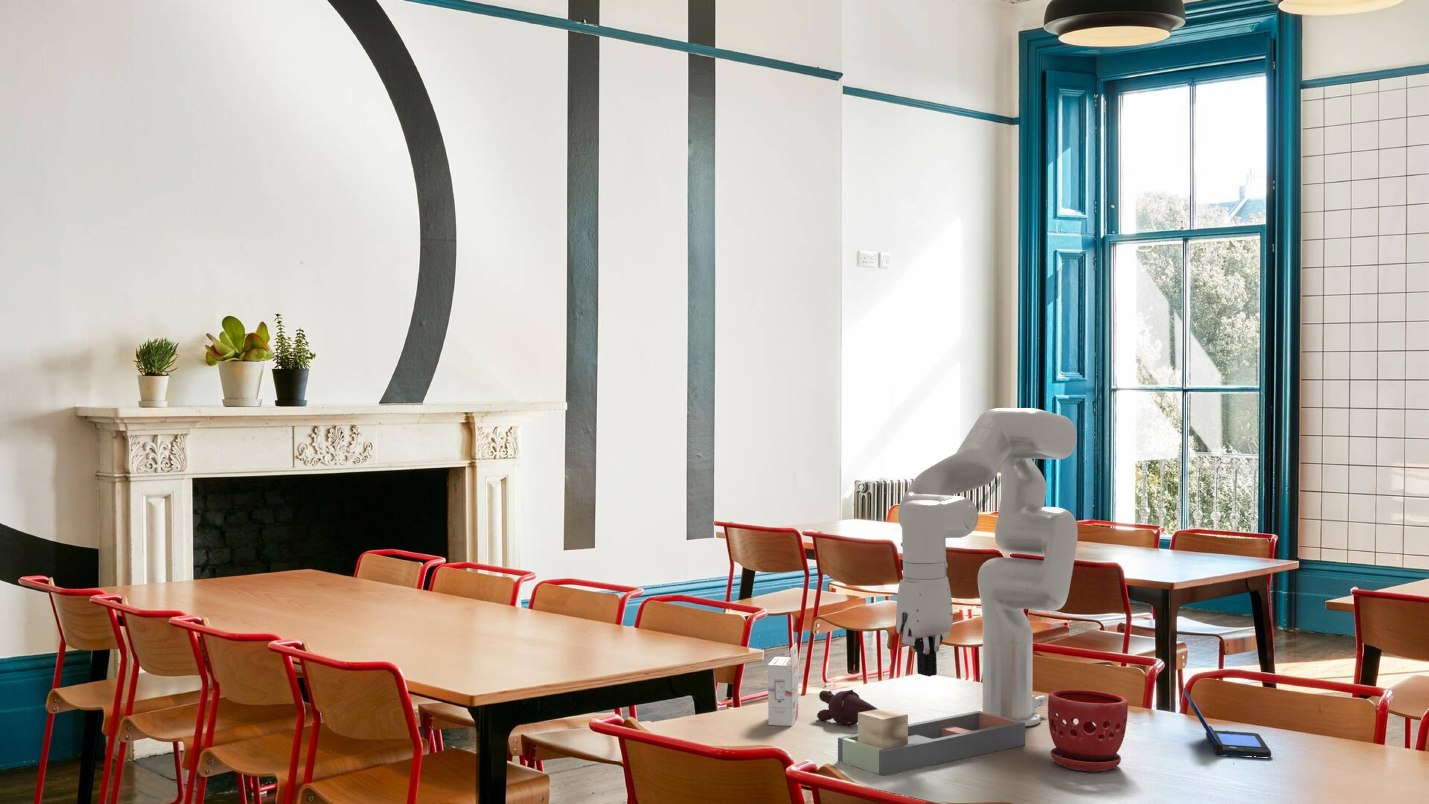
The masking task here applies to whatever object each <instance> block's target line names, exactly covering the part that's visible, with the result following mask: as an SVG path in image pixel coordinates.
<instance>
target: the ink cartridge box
mask: <svg viewBox="0 0 1429 804" xmlns="http://www.w3.org/2000/svg"><path fill="white" fill-rule="evenodd" d="M789 655H790V657H789V656H786V657H785V656H774V657H773V658H772V660H771V661H769V663H767V694H768V695H767V698H768V699H767V705H768V706H767V708H768V710H767V712H768V721H767V722H768V726H780V727H781V726H782V727H783V726H784V727H792V726H793V725H794V724H795V722H796V720H797V719H798V717H799V651H798V643H797V642H794V644H793V645H792V646H791V648H790V650H789Z"/></svg>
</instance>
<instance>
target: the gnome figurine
mask: <svg viewBox="0 0 1429 804" xmlns="http://www.w3.org/2000/svg"><path fill="white" fill-rule="evenodd" d="M818 697H819V700H820V701H821V702H823V703H825V704H827V705H828V706H827V707H828V709H826V708H825V709H822V710H819V711H818V713H817V714H816V717H817V719H818V720H819V721H829V720H832V719H833V721H834V722H835V723H836V724H840V725H843V726H847V727H849V728H850V727H852V726H853V727H854V726H855V725H858V713H860V712H865V711H871V710H876V709H878V708H877V707H876V706H874V705H872V704H871V703H869V702H867V701H865V700H864V699H862V698H860V696H859V694H858V693H857V692H856V691H854V689H850V690H841V691H838V692H837V693H834V694H833V692H832V691H831V690H829V691H828V690H821V691H820V692H819V695H818Z"/></svg>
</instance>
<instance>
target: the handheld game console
mask: <svg viewBox="0 0 1429 804" xmlns="http://www.w3.org/2000/svg"><path fill="white" fill-rule="evenodd" d="M1182 689H1183V694H1184V696H1185V698H1186V699H1187V702H1188V703H1189V705H1190V706H1191V709H1192V711H1193V712H1194V714H1195V715H1196V716H1197V718H1198V720H1199V722H1200V724H1201V726H1203V729H1204V730H1205V736H1206V738H1207V739H1208V741H1209V743H1210V744H1211V743H1212V744H1211V745H1212V749H1213V750H1214V754H1215V756H1217V755H1220V756H1219V757H1222V756H1221V755H1226V756H1225V757H1233V756H1252V757H1254V756H1256V757H1270V756H1271V757H1272V751H1271V749H1270V748H1269V746H1268V745H1267V744H1266V742H1265V740H1264V739H1263V738H1262V737H1261V735H1260V734H1259V733H1256V732H1250V731H1249V732H1245V731H1233V730H1232V731H1231V730H1230V731H1229V730H1214V729H1213V727H1212V726H1210V725H1208V723H1207V721H1206V719H1205V718H1204V716H1203V715H1202V713H1201V711H1200V710H1199V708H1198V707H1197V704H1196V703H1195V702H1194V700H1193V698H1192V696H1190V694H1189V691H1188V690H1187V688H1185V687H1184V688H1182ZM1271 757H1270V758H1271Z"/></svg>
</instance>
